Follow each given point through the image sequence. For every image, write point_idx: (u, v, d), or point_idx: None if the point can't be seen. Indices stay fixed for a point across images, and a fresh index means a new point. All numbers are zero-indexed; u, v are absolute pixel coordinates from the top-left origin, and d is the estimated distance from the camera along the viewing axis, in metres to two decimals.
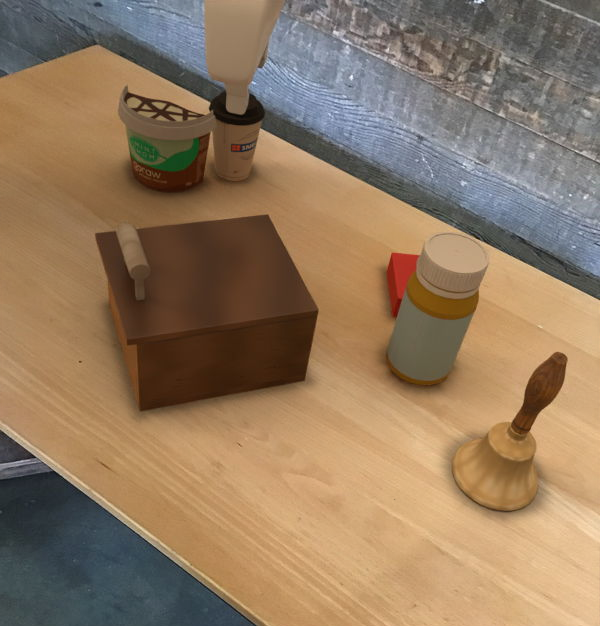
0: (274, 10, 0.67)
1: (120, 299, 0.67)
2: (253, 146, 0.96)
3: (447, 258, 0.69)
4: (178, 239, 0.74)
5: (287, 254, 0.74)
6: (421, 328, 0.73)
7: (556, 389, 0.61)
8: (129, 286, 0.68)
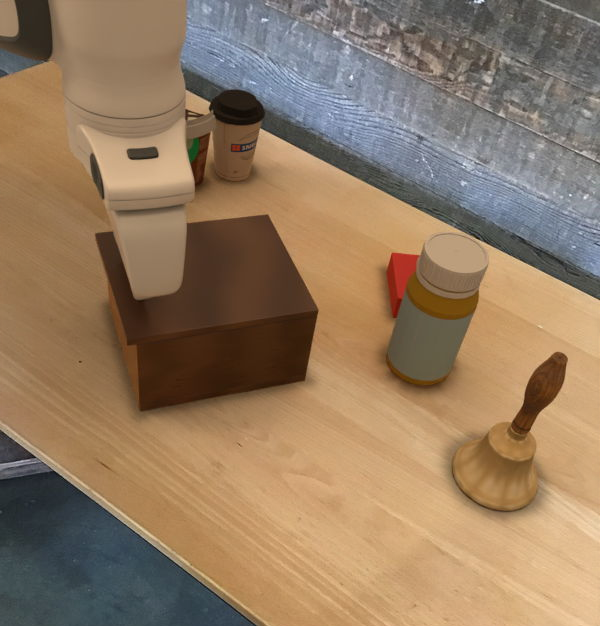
0: None
1: (120, 299, 0.67)
2: (253, 146, 0.96)
3: (447, 258, 0.69)
4: None
5: (287, 254, 0.74)
6: (421, 328, 0.73)
7: (556, 389, 0.61)
8: (129, 286, 0.68)
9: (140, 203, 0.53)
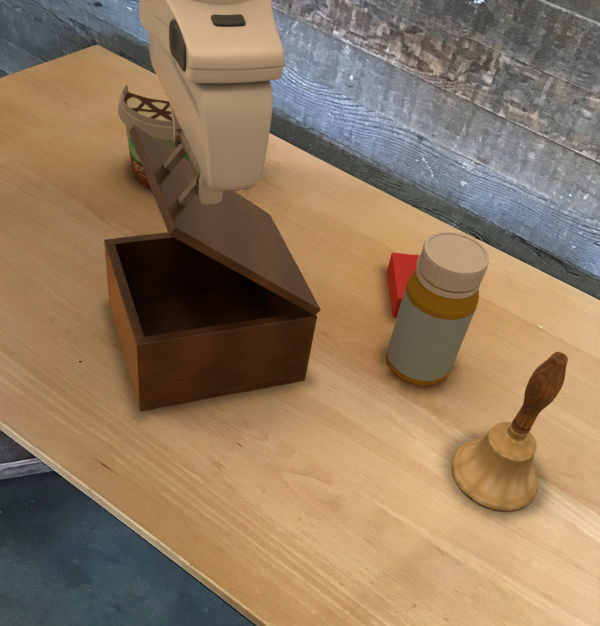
0: None
1: (164, 192, 0.60)
2: None
3: (447, 258, 0.69)
4: None
5: (290, 253, 0.74)
6: (421, 328, 0.73)
7: (556, 389, 0.61)
8: (171, 187, 0.62)
9: (226, 74, 0.48)
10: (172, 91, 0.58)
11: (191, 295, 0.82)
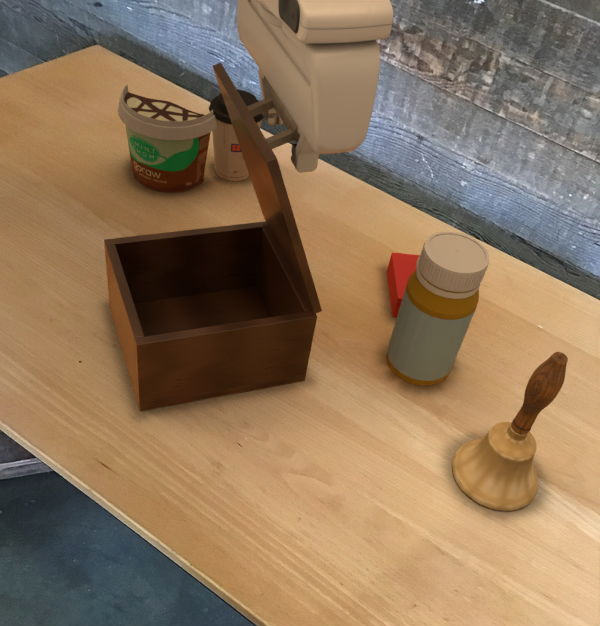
0: None
1: None
2: None
3: (447, 258, 0.69)
4: None
5: None
6: (421, 328, 0.73)
7: (556, 389, 0.61)
8: None
9: (338, 33, 0.49)
10: (268, 60, 0.59)
11: (191, 295, 0.82)
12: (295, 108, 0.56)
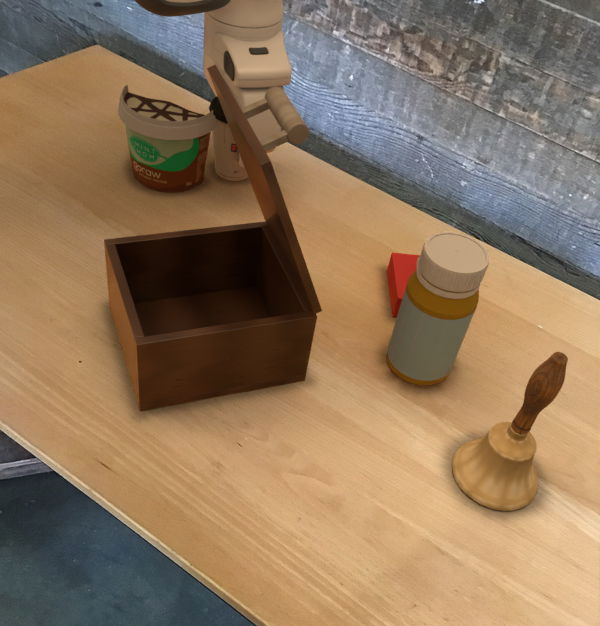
0: None
1: None
2: None
3: (447, 258, 0.69)
4: None
5: None
6: (421, 328, 0.73)
7: (556, 389, 0.61)
8: None
9: (257, 82, 0.82)
10: None
11: (191, 295, 0.82)
12: None
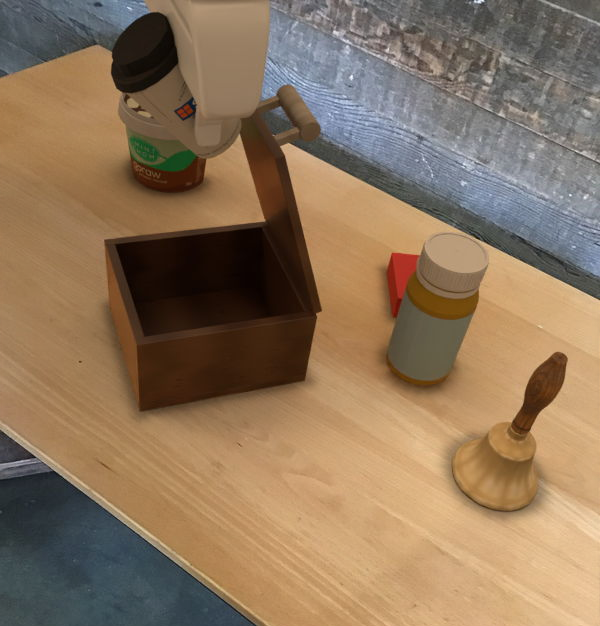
0: None
1: None
2: None
3: (447, 258, 0.69)
4: None
5: None
6: (421, 328, 0.73)
7: (556, 389, 0.61)
8: None
9: None
10: None
11: (191, 295, 0.82)
12: (186, 70, 0.51)
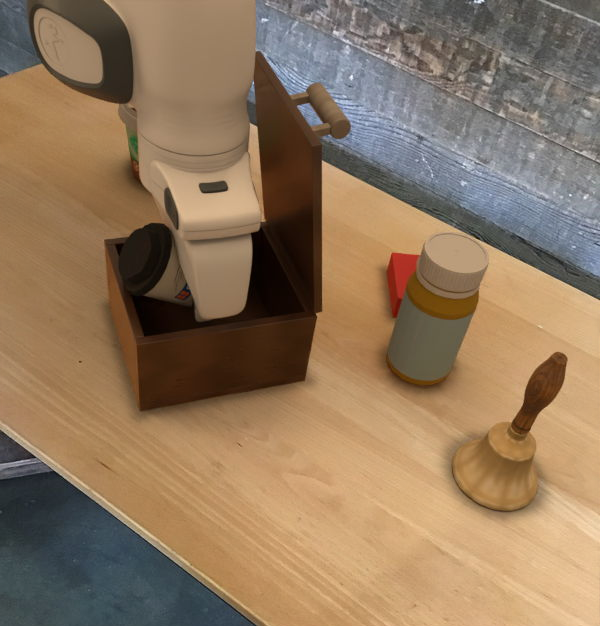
0: None
1: None
2: None
3: (447, 258, 0.69)
4: None
5: None
6: (421, 328, 0.73)
7: (556, 389, 0.61)
8: None
9: (212, 233, 0.57)
10: (168, 225, 0.68)
11: None
12: (187, 275, 0.64)
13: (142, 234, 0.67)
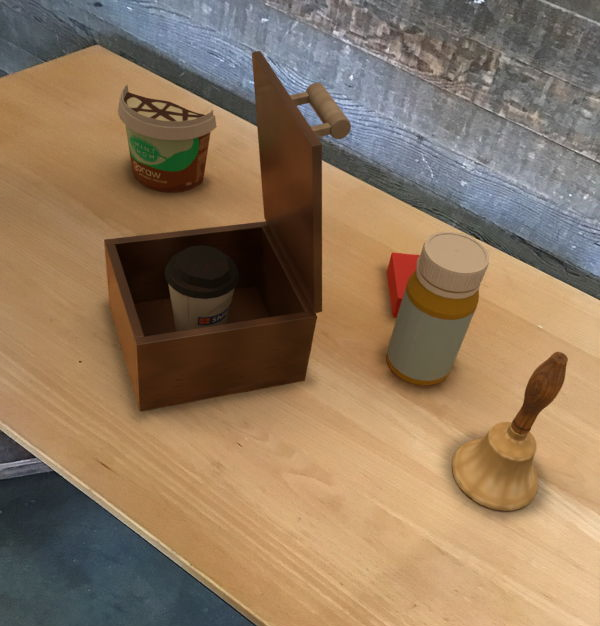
0: None
1: None
2: (226, 314, 0.74)
3: (447, 258, 0.69)
4: None
5: None
6: (421, 328, 0.73)
7: (556, 389, 0.61)
8: None
9: None
10: None
11: None
12: None
13: (217, 254, 0.71)
